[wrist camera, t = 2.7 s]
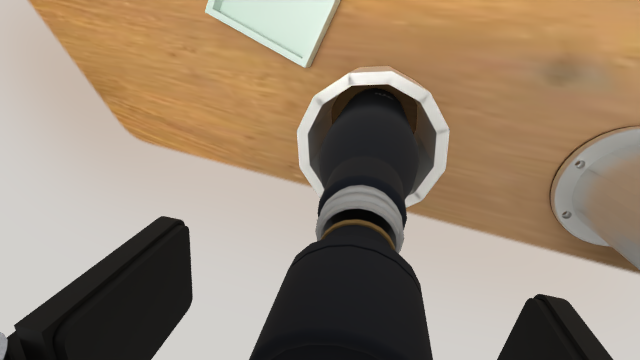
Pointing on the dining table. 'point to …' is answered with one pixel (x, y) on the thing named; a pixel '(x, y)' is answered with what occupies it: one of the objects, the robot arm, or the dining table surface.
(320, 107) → the wine cooler
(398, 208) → the wine bottle
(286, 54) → the sage tray
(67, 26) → the dining table surface
